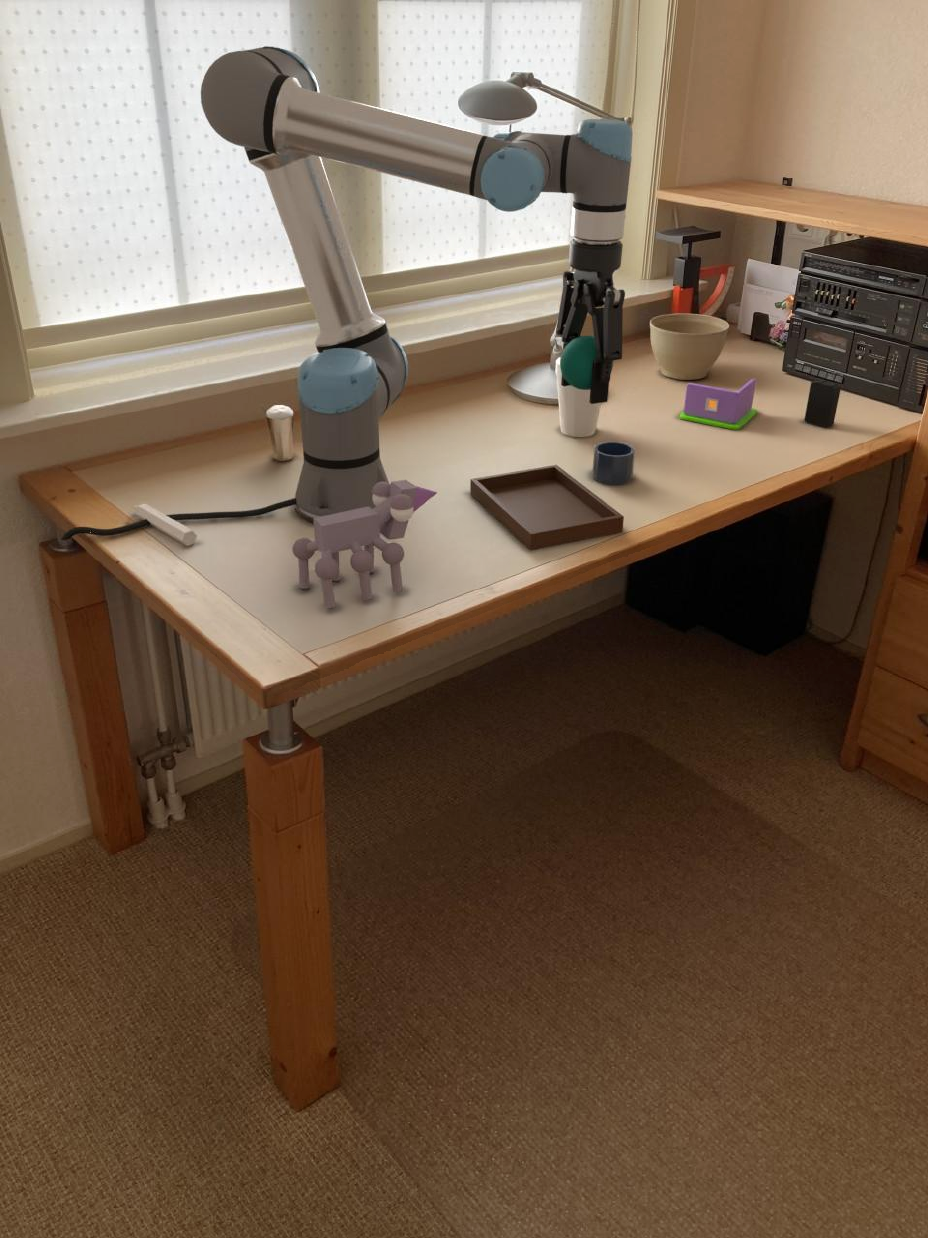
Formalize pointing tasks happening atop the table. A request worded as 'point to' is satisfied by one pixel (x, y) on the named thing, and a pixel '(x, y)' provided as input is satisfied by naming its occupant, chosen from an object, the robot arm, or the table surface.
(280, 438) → the milkshake
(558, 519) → the tray
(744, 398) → the toy room diorama
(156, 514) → the marker
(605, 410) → the table surface
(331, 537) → the toy sheep
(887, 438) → the table surface
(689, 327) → the planter bowl
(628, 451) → the cup
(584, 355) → the ball
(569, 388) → the foam cup
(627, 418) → the table surface
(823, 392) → the ink cartridge
